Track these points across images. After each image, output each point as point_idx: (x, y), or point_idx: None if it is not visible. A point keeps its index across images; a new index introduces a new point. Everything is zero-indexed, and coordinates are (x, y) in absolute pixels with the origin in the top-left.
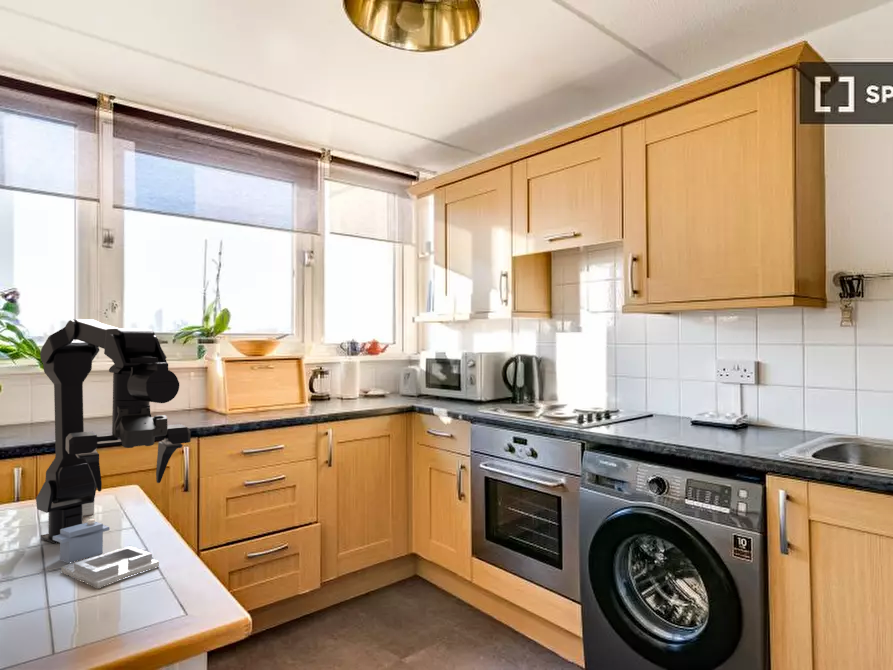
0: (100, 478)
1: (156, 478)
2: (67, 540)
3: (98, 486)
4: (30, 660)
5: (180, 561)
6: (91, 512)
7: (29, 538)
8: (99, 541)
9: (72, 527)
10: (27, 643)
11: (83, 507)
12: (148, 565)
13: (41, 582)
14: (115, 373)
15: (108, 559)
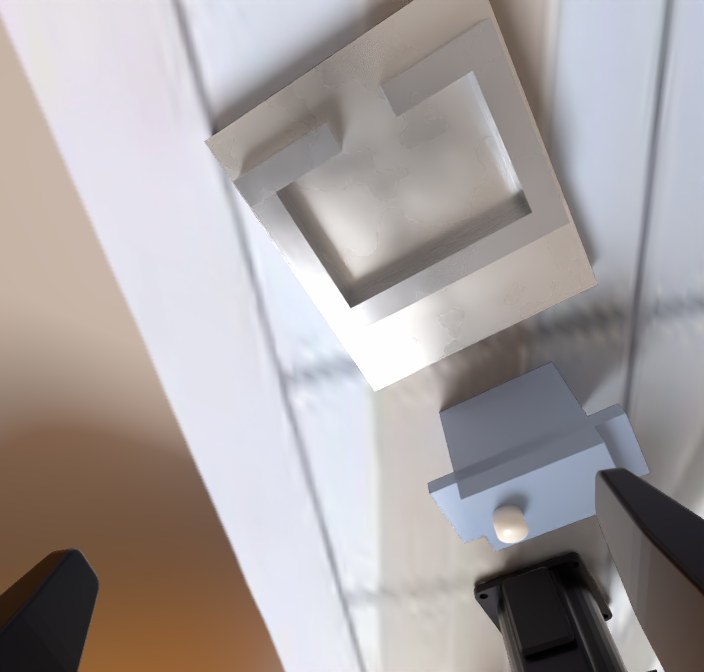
0: (702, 576)
1: (86, 617)
2: (597, 415)
3: (656, 500)
4: None
5: (122, 168)
6: None
7: (633, 621)
8: (459, 441)
9: (582, 504)
10: None
11: None
12: (249, 112)
13: (664, 200)
14: None
15: (424, 260)
